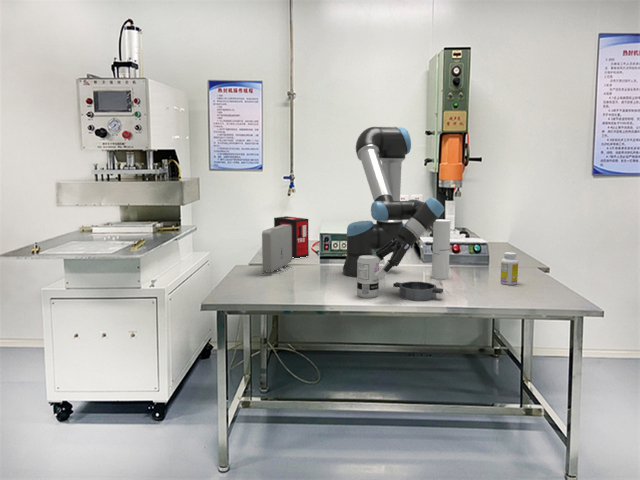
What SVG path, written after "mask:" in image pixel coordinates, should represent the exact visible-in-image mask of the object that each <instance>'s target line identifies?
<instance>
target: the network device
mask: <svg viewBox="0 0 640 480" xmlns="http://www.w3.org/2000/svg"><path fill="white" fill-rule="evenodd" d="M261 244H262V246H261V247H262V248H261V253H262V257H261V258H262V260H261V261H262V272H261V273H262V274H263V273H264V274H263V275H268V274H279V275H281V274H280V273H282V272H284V271H285V272H287V271H289V270H291V269H293V266H292V265H289V264H290V263H292V260H293V259H292V226H291V225H285V224H283V225H280V226H276V227H274V226H273V227H271V228H268V229H264V230H262V233H261ZM282 266H286V267H285V268H284V267H282ZM290 268H291V269H290ZM288 269H289V270H288ZM274 270H278V271H277V272H275V271H274ZM286 270H287V271H286ZM266 271H268V272H266ZM285 272H284V273H285ZM282 274H283V273H282Z"/></svg>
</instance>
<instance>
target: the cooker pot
mask: <svg viewBox="0 0 640 480" xmlns="http://www.w3.org/2000/svg"><path fill="white" fill-rule="evenodd" d="M393 287H394V288H398V289H399V290H398V295H399V297H400V298H401V299H403V300H407V299H408V301H415V302H417V301H418V302H420V301H421V302H427V301H433V300H435V299H436V298H437V294H439V295H440V294H442V293H444V288H440V287H437V285H436V284H433V283H431V282H426V281H425V282H424V281H404V282H398V281H397V282H394V283H393Z"/></svg>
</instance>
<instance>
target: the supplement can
mask: <svg viewBox="0 0 640 480" xmlns="http://www.w3.org/2000/svg"><path fill="white" fill-rule="evenodd" d="M379 270H380V262H379V260H378V258H377V256H376V255H374V254H373V255H362V256H359V258H358V260H357V278H356V295H358V297H360V298H365V299H373V298H377V296H378V295H379V293H380V292H379V288H380V287H379V283H380V282H379V280H380V279H379V278H378V277H377V276H376V275H375V274H376V273H377V272H378V271H379Z"/></svg>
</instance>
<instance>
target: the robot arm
mask: <svg viewBox="0 0 640 480" xmlns="http://www.w3.org/2000/svg"><path fill="white" fill-rule="evenodd" d="M411 149H412V139H411V135H410V133H409V131H408V130H407V128H405V127H401V126H400V127H398V126H371V127H367V128H366V129H364V130H363V131H362V132H361V133H360V134H359V136H358V137H357V140H356V144H355V153H356V154H355V155H356V156H357V158H358V160H359V161H360V162H361V164H362V168H363V170H364V174H365V177H366V180H367V184H368V187H369V190H370V194H371V196H372V200H373V202H372V203H371V205H370V216H371V218H372V219H373V220H374V221H376V223H374V221H372V220H359V221H353V222H351V223H348V225H347V228H346V235H345V236H346V257H345V261H344V264H343V266H342V274H343V275H345V276H348V277H355V278H356V277H357V260H358V258H359V256H362V255H373V256H374V254H373V253H374V251H375V256H377V258H378V260H379V263H380V262H381V261H383V258H384V257H387V256H388V255H390V254H391V253H392V254H391V256H390V259H388V260H387V261H386V262H385V264H384V265H383V266H381V268H379V271H378V272H377V273H376V274H375V275H376V276H377V277H378V278H379V280H380V281H382V279H383V278H384V277H385V276H387V274H388V273H389V272H390V271H391V270H392V269H393V268H394V267H396V268H397V267H399V265H400V263H401V261H402V260H403V259H404V256H405V255H406V253H407V251H408V250H410V248H411V247H412V246H413V245H415V243H416V242H417V241H418V239H420V238H421V236H424V235H425V232H426V231H427V230H428V229H429V228H430V227H431V226H433V223H434V222H435V221H436V220H437V219H439V218H440V217H441V215H442V214H443V213H444V212H445V206H443V205H444V204H442V203H441V202H440V201H439V199H436V198H435V197H433V196H431V197H429V198H428V199H426V200H425V201H421V200H419V199H413V198H411V199H408V200H401V186H402V185H401V183H402V163H403V162H404V161H405V159H406V155H408V154H409V153H410V152H411ZM403 221H406V222H405V223H404V222H403Z"/></svg>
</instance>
